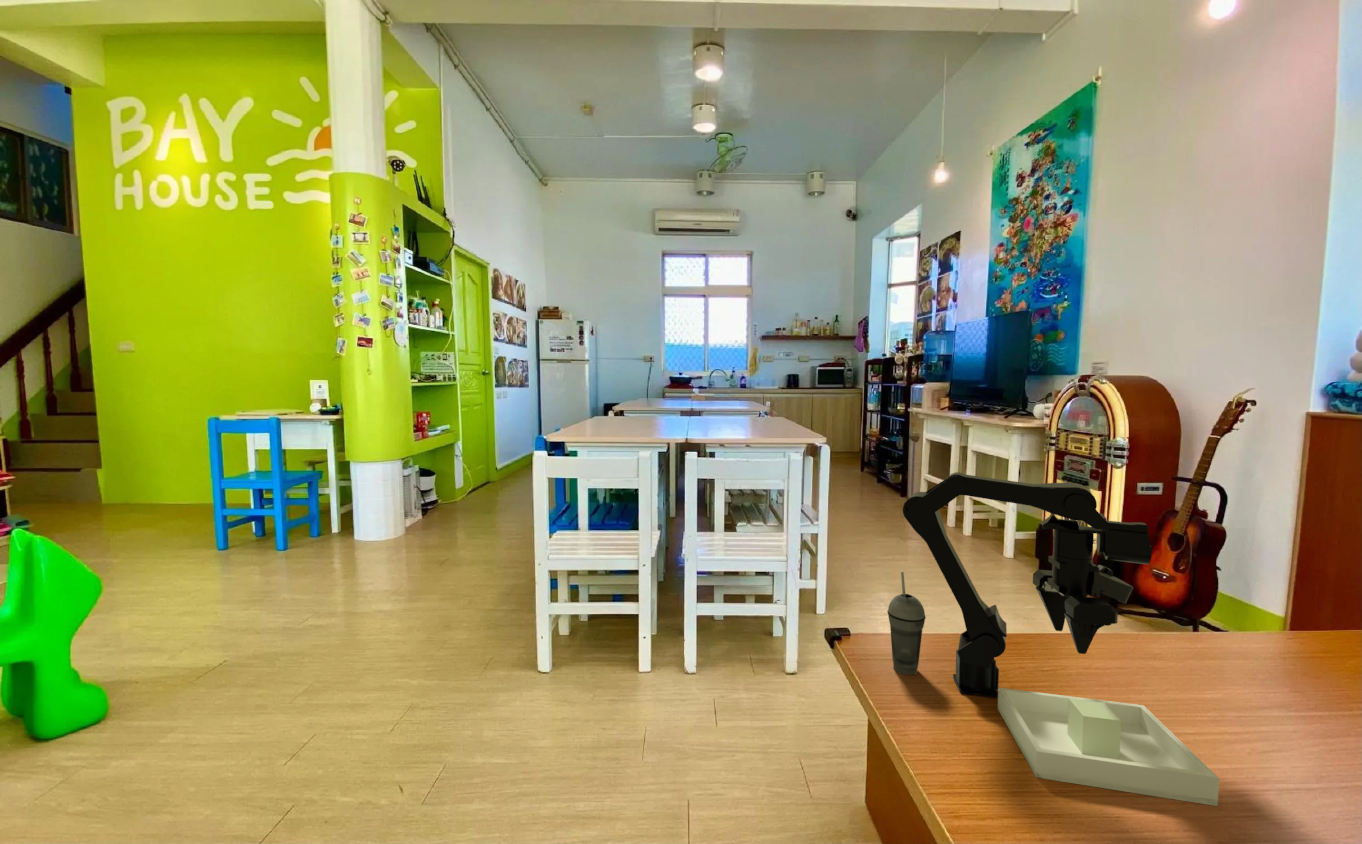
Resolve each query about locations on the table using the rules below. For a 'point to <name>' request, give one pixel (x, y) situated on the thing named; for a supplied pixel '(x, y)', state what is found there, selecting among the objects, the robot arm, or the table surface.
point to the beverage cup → (906, 631)
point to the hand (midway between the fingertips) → (1069, 641)
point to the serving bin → (1142, 768)
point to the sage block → (1094, 728)
